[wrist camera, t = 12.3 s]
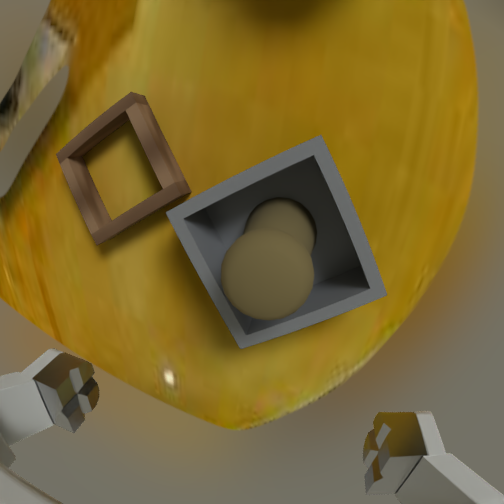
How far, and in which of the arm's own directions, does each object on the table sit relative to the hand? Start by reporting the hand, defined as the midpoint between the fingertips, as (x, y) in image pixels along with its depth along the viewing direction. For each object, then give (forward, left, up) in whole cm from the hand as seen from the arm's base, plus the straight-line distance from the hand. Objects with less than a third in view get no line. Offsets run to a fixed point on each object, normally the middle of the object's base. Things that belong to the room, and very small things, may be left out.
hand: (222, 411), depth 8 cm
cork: (0, 0, -20) cm, 20 cm away
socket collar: (-12, -11, -21) cm, 27 cm away
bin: (0, 0, -21) cm, 21 cm away
